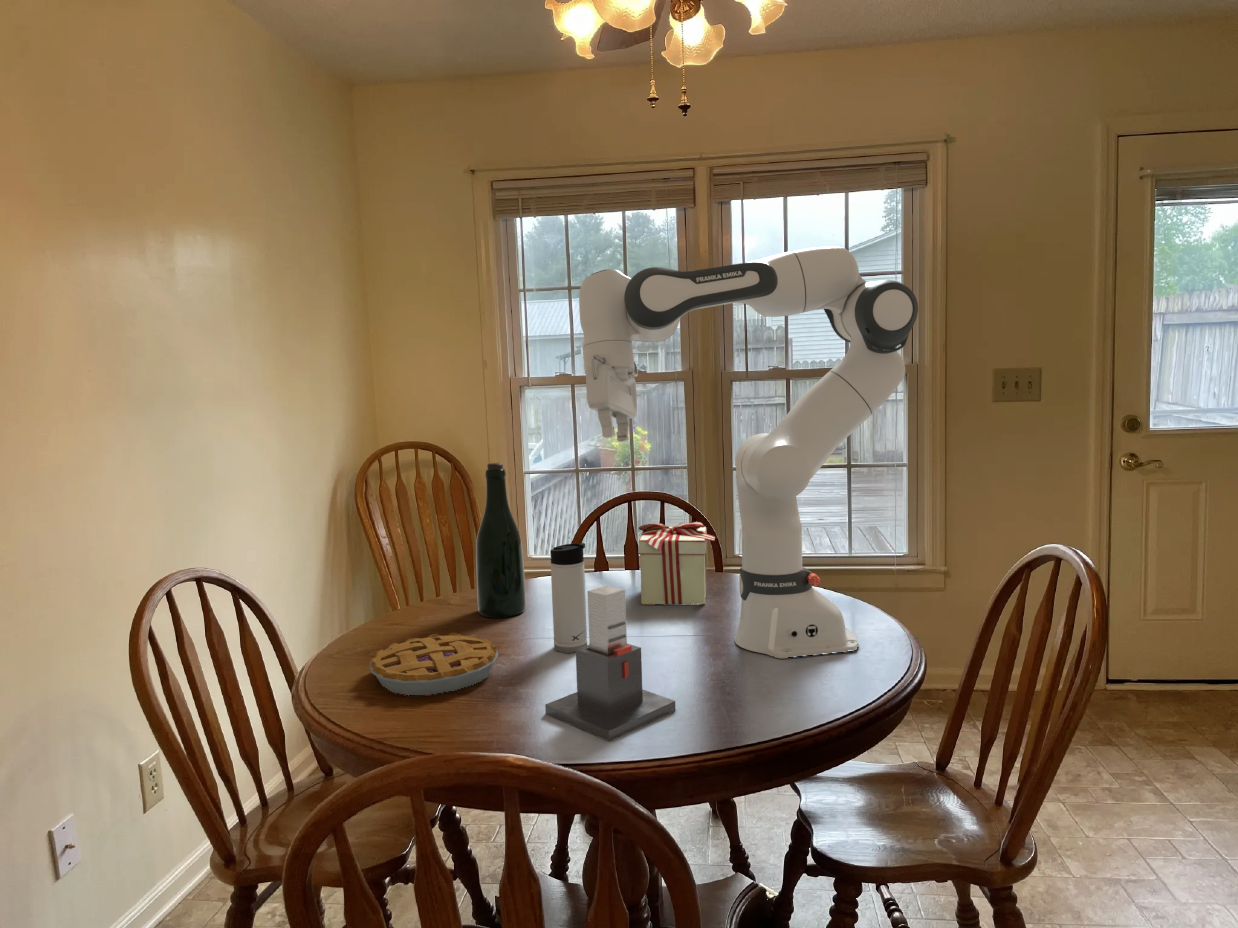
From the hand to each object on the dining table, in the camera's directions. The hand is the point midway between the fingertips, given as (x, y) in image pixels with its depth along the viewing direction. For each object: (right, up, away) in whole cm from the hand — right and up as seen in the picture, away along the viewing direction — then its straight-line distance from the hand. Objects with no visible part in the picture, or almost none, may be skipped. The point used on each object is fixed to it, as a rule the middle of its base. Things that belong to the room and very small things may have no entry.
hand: (616, 439), depth 143 cm
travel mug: (-8, -39, +11) cm, 42 cm away
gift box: (+14, -35, +42) cm, 57 cm away
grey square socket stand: (-1, -42, -19) cm, 46 cm away
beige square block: (-1, -41, -20) cm, 45 cm away
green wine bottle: (-25, -37, +36) cm, 57 cm away
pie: (-32, -42, -1) cm, 52 cm away
